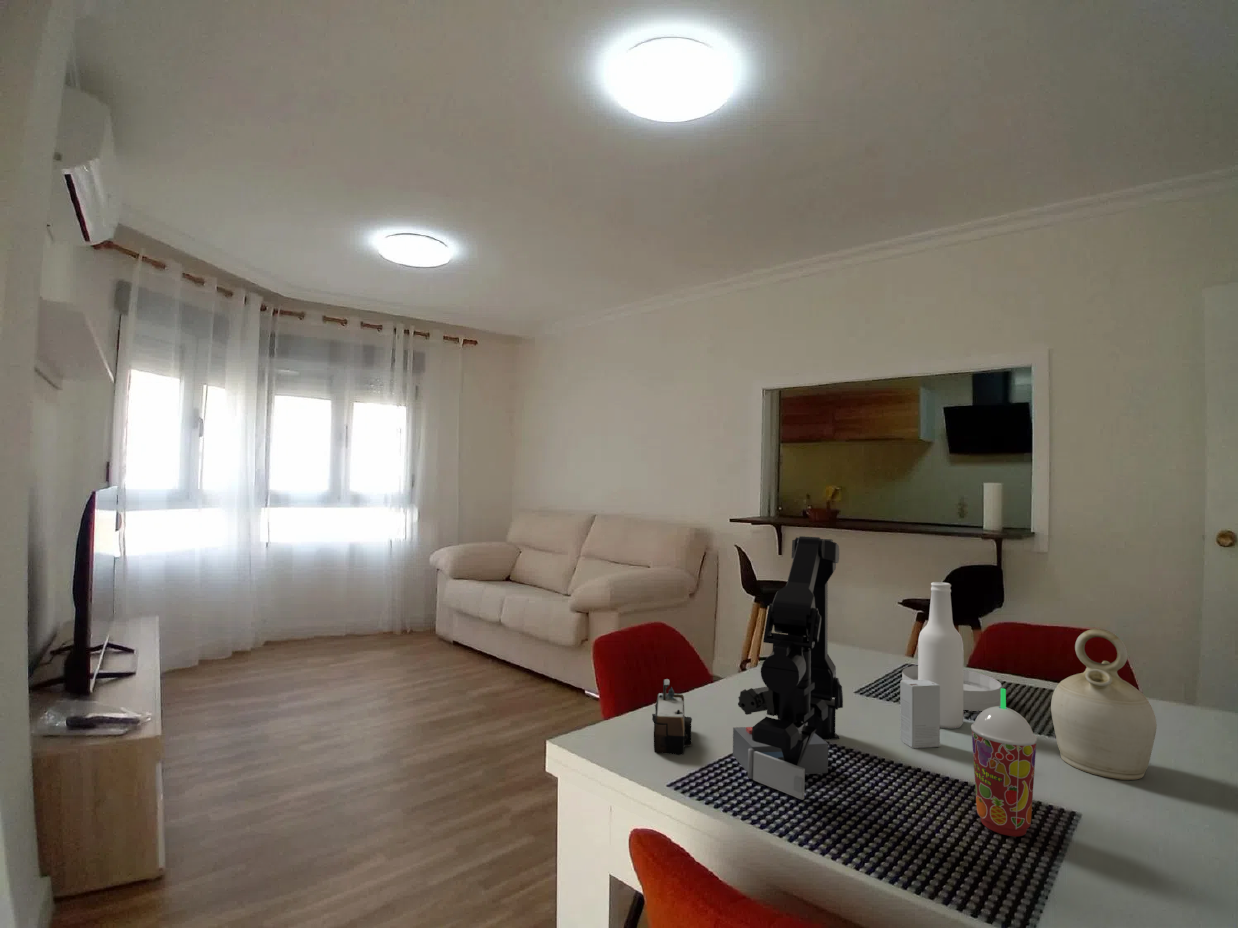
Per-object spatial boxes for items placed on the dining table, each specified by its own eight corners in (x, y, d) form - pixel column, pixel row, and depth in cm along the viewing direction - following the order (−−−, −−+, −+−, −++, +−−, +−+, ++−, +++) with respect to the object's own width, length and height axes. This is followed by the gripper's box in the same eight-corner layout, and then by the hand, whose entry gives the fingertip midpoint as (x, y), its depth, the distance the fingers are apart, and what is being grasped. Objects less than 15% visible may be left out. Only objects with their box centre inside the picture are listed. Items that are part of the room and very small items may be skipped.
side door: (805, 798, 99) (805, 767, 99) (800, 801, 98) (800, 770, 98) (749, 776, 106) (750, 747, 107) (744, 778, 105) (745, 750, 106)
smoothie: (958, 812, 96) (959, 680, 97) (1010, 812, 97) (1009, 680, 98) (995, 842, 88) (995, 697, 89) (1051, 841, 89) (1051, 697, 90)
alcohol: (959, 732, 130) (959, 587, 132) (913, 722, 136) (914, 582, 137) (966, 721, 137) (966, 583, 139) (922, 712, 143) (923, 579, 144)
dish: (911, 679, 170) (911, 660, 171) (1006, 696, 158) (1006, 676, 158) (892, 699, 152) (892, 678, 153) (998, 720, 140) (998, 697, 140)
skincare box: (926, 739, 126) (926, 678, 127) (941, 748, 122) (941, 684, 122) (898, 740, 125) (898, 678, 126) (912, 749, 121) (912, 685, 121)
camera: (691, 757, 114) (692, 701, 115) (650, 754, 115) (651, 698, 116) (692, 727, 129) (693, 678, 130) (656, 724, 130) (657, 675, 131)
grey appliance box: (803, 751, 118) (804, 719, 118) (828, 773, 109) (828, 738, 109) (732, 755, 116) (733, 721, 116) (752, 777, 106) (752, 741, 107)
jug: (1130, 792, 105) (1128, 641, 107) (1033, 756, 119) (1033, 623, 120) (1174, 775, 112) (1172, 634, 114) (1078, 744, 126) (1077, 618, 127)
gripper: (768, 656, 115) (767, 742, 115) (722, 679, 100) (720, 779, 100) (829, 667, 109) (828, 759, 108) (789, 694, 94) (788, 801, 93)
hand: (791, 773), depth 102 cm, fingers closed
